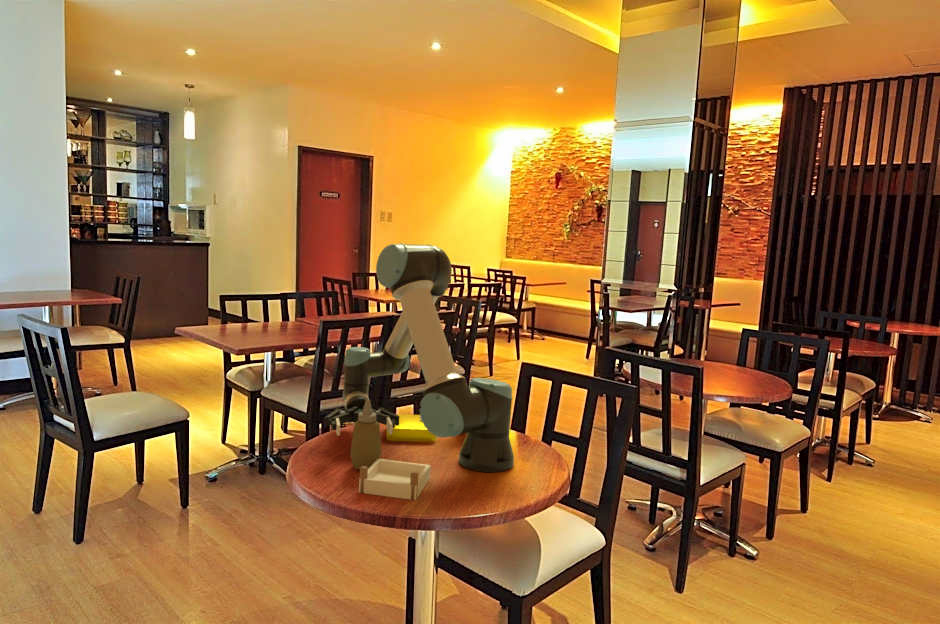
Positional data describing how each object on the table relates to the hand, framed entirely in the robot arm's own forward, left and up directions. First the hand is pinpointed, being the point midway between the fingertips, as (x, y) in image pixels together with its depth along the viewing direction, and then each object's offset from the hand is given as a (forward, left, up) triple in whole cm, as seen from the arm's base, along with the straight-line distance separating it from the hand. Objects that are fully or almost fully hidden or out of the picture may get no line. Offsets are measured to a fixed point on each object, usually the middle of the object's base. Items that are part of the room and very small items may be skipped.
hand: (365, 430), depth 169 cm
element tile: (-5, -31, -11) cm, 33 cm away
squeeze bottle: (-1, 0, -10) cm, 10 cm away
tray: (-12, +9, -10) cm, 18 cm away
